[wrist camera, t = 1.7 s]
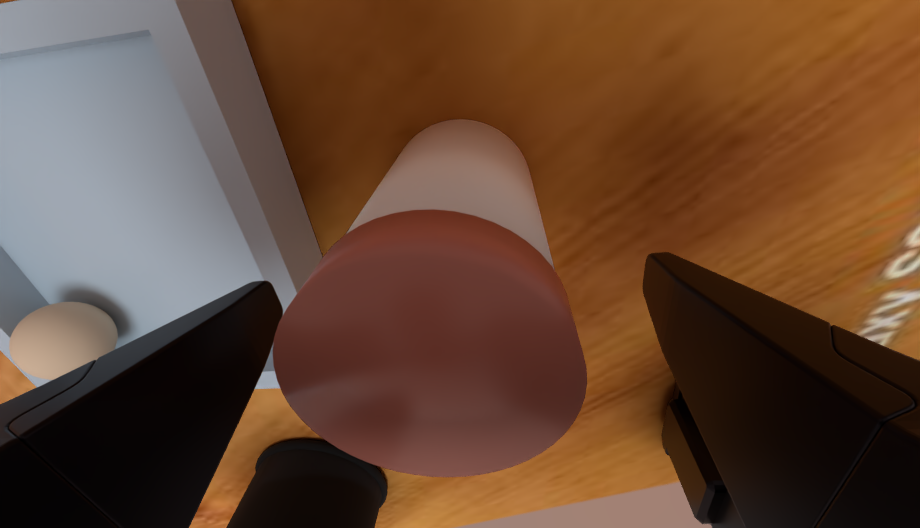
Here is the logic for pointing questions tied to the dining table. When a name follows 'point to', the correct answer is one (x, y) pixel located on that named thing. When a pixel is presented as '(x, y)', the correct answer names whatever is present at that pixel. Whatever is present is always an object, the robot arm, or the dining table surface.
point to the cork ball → (61, 339)
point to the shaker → (438, 318)
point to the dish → (139, 165)
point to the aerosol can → (310, 489)
